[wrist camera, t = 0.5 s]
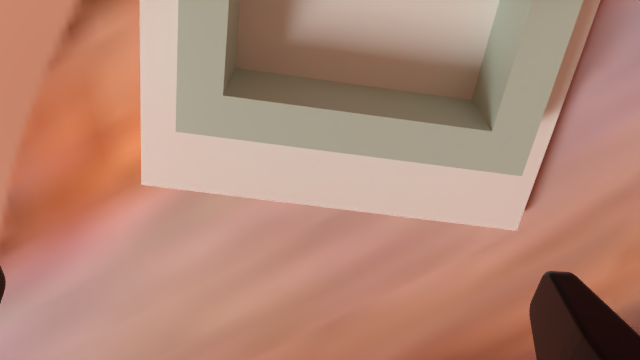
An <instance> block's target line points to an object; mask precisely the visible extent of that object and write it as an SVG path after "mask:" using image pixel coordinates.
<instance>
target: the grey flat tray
mask: <svg viewBox="0 0 640 360" xmlns="http://www.w3.org/2000/svg"><path fill="white" fill-rule="evenodd" d="M600 1H601V0H140V86H141V185H147V186H155V187H164V188H172V189H180V190H188V191H196V192H204V193H213V194H221V195H229V196H237V197H245V198H254V199H262V200H270V201H278V202H286V203H294V204H303V205H311V206H319V207H327V208H335V209H343V210H352V211H360V212H368V213H376V214H384V215H392V216H401V217H409V218H417V219H425V220H433V221H442V222H450V223H458V224H466V225H474V226H482V227H491V228H499V229H507V230H515V231H517V229H518V226H519V223H520V220H521V218H522V215H523V212H524V209H525V207H526V204H527V201H528V198H529V196H530V193H531V190H532V187H533V185H534V182H535V179H536V176H537V174H538V171H539V168H540V166H541V163H542V160H543V157H544V155H545V152H546V149H547V146H548V144H549V141H550V138H551V135H552V133H553V130H554V127H555V124H556V122H557V119H558V116H559V113H560V111H561V108H562V105H563V102H564V100H565V97H566V94H567V91H568V89H569V86H570V83H571V80H572V78H573V75H574V72H575V69H576V67H577V64H578V61H579V58H580V56H581V53H582V50H583V47H584V45H585V42H586V39H587V36H588V34H589V31H590V28H591V25H592V23H593V20H594V17H595V14H596V12H597V9H598V6H599V3H600Z"/></svg>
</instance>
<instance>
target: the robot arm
mask: <svg viewBox="0 0 640 360" xmlns="http://www.w3.org/2000/svg"><path fill="white" fill-rule="evenodd" d="M4 290H5V276H4V273H3V271H2V268H1V266H0V303H1V300H2V297H3V294H4ZM530 321H531V328H532V334H533V340H534V346H535V352H536V358H537V360H640V335H639V334H638V333H636V332H635V331H634V330H633V329H632V328H631V327H630V326H629V325H628V324H627V323H626V322H625V321H624V320H623V319H622V318H620V317H619V316H618V315H617V314H616V313H615V312H614V311H613V310H612V309H611V308H610V307H609V306H608V305H607V304H605V303H604V302H603V301H602V300H601V299H600V298H599V297H598V296H597V295H596V294H595V293H594V292H593V291H592V290H591V289H589V288H588V287H587V286H586V285H585V284H584V283H583V282H582V281H581V280H580V279H579V278H578V277H577V276H575V275H574V274H572V273H570V272H558V271H548V272H546V273H545V274H544V275H543V276H542V278H541V281H540V283H539V285H538V287H537V290H536V292H535V294H534V296H533V298H532V301H531V304H530Z"/></svg>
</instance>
